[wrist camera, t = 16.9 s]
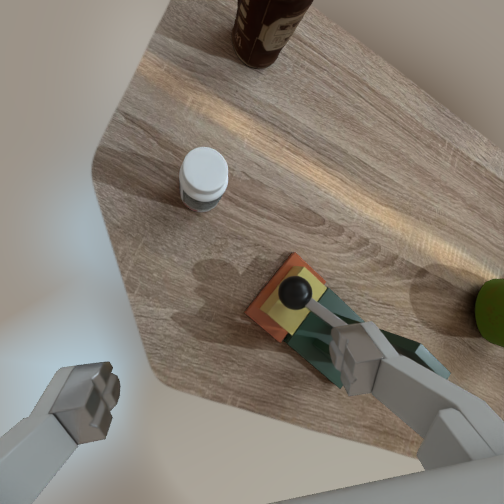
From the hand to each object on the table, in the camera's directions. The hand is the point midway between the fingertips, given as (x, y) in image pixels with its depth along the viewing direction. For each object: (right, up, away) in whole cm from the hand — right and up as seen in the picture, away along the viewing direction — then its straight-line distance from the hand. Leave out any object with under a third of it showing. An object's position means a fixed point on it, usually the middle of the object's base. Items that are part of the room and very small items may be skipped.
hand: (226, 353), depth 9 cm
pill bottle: (-5, +11, +21) cm, 24 cm away
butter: (+5, -2, +24) cm, 24 cm away
